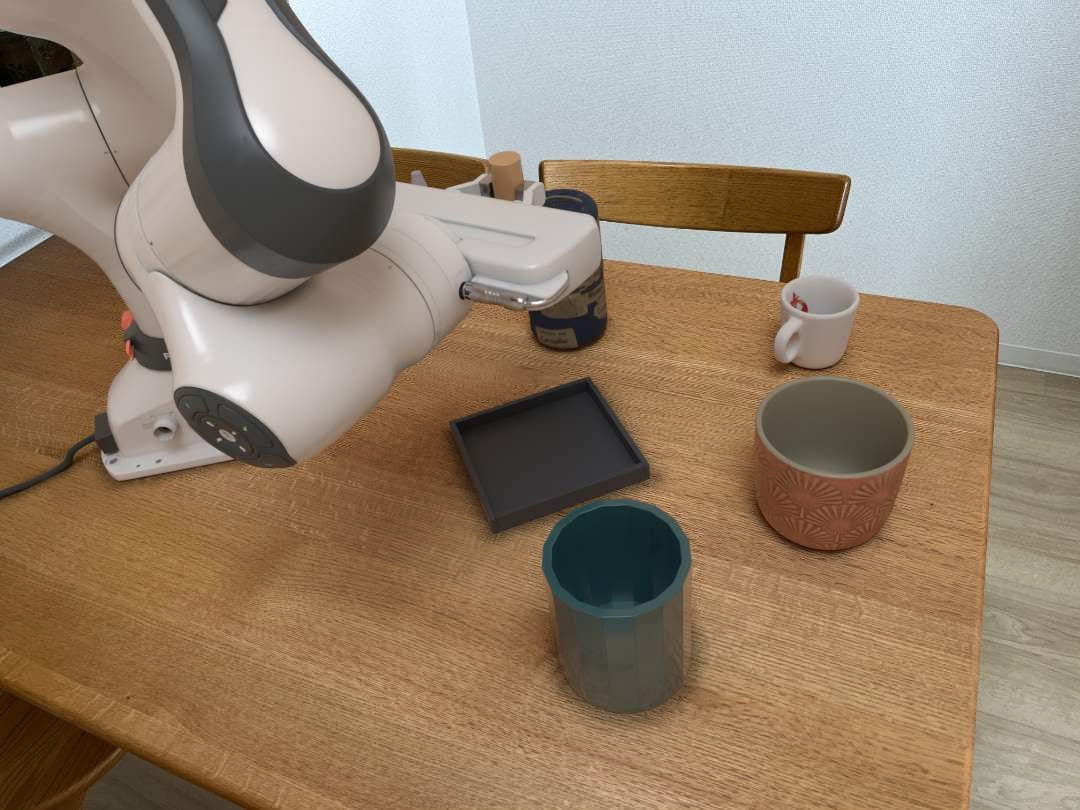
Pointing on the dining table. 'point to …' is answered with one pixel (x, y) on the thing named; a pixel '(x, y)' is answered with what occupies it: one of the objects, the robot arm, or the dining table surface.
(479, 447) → the tray
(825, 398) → the planter
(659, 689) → the faceted pencil holder
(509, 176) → the teal lid with handle
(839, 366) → the dining table surface
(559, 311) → the canister
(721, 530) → the dining table surface
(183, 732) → the dining table surface
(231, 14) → the robot arm
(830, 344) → the cup
